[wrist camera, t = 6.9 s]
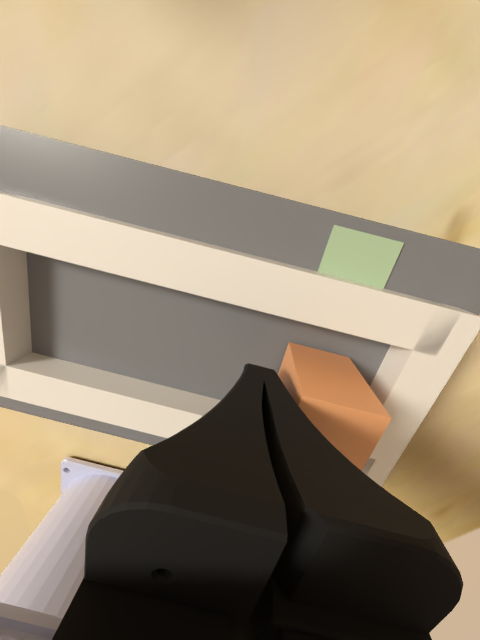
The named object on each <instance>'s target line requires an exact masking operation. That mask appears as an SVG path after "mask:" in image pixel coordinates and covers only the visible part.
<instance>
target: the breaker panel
mask: <svg viewBox="0 0 480 640" xmlns="http://www.w3.org/2000/svg"><path fill="white" fill-rule="evenodd" d="M479 314H480V249H479V248H475V247H471V246H467V245H463V244H459V243H456V242H452V241H448V240H444V239H440V238H436V237H432V236H428V235H425V234H421V233H417V232H413V231H409V230H405V229H401V228H397V227H393V226H390V225H386V224H382V223H378V222H374V221H370V220H366V219H362V218H359V217H355V216H351V215H347V214H343V213H339V212H335V211H331V210H328V209H324V208H320V207H316V206H312V205H308V204H304V203H300V202H297V201H293V200H289V199H285V198H281V197H277V196H273V195H269V194H265V193H262V192H258V191H254V190H250V189H246V188H242V187H238V186H234V185H231V184H227V183H223V182H219V181H215V180H211V179H207V178H203V177H200V176H196V175H192V174H188V173H184V172H180V171H176V170H172V169H168V168H165V167H161V166H157V165H153V164H149V163H145V162H141V161H137V160H134V159H130V158H126V157H122V156H118V155H114V154H110V153H106V152H103V151H99V150H95V149H91V148H87V147H83V146H79V145H75V144H72V143H68V142H64V141H60V140H56V139H52V138H48V137H44V136H40V135H37V134H33V133H29V132H25V131H21V130H17V129H13V128H9V127H6V126H2V125H0V407H3V408H7V409H11V410H15V411H19V412H23V413H27V414H31V415H35V416H39V417H43V418H47V419H51V420H54V421H58V422H62V423H66V424H70V425H74V426H78V427H82V428H86V429H90V430H94V431H98V432H102V433H106V434H110V435H114V436H118V437H122V438H126V439H130V440H134V441H138V442H142V443H146V444H150V445H155V444H157V443H159V442H161V441H163V440H165V439H167V438H169V437H171V436H173V435H175V434H176V433H178V432H180V431H181V430H183V429H185V428H186V427H188V426H189V425H191V424H193V423H194V422H196V421H197V420H198V419H200V418H201V417H202V416H204V415H205V414H206V413H207V412H209V411H210V410H211V409H212V408H213V407H214V406H216V405H217V404H218V403H219V402H220V401H221V400H222V399H223V398H224V397H225V396H226V394H227V393H228V392H229V391H230V390H231V389H232V388H233V386H234V385H235V384H236V382H237V381H238V379H239V378H240V376H241V374H242V373H243V370H244V366H245V364H247V363H250V364H254V365H258V366H261V367H265V368H269V369H273V370H275V371H276V373H277V374H278V372H279V370H280V367H281V364H282V361H283V358H284V355H285V352H286V349H287V346H288V343H289V342H291V343H295V344H299V345H303V346H307V347H311V348H315V349H319V350H322V351H326V352H330V353H334V354H338V355H342V356H346V357H349V358H350V359H351V361H352V362H353V364H354V365H355V366H356V368H357V369H358V371H359V372H360V374H361V375H362V376H363V378H364V379H365V381H366V382H367V384H368V385H369V386H370V388H371V389H372V391H373V392H374V394H375V395H376V396H377V398H378V399H379V401H380V402H381V404H382V405H383V406H384V408H385V409H386V411H387V412H388V414H389V415H390V416H391V418H392V419H391V420H390V422H389V424H388V426H387V427H386V429H385V431H384V433H383V435H382V436H381V438H380V440H379V442H378V443H377V445H376V447H375V449H374V450H373V452H372V454H371V456H370V457H369V459H368V461H367V463H366V464H365V466H364V468H363V470H362V472H363V473H365V474H366V475H367V476H368V477H370V478H371V479H372V480H373V481H375V482H376V483H377V484H378V485H380V486H381V487H382V485H383V483H384V482H385V480H386V479H387V477H388V475H389V474H390V472H391V471H392V469H393V467H394V466H395V464H396V463H397V461H398V459H399V458H400V456H401V455H402V453H403V451H404V450H405V448H406V447H407V445H408V443H409V442H410V440H411V439H412V437H413V435H414V434H415V432H416V431H417V429H418V427H419V426H420V424H421V423H422V421H423V419H424V418H425V416H426V415H427V413H428V411H429V410H430V408H431V407H432V405H433V403H434V402H435V400H436V399H437V397H438V395H439V394H440V392H441V391H442V389H443V387H444V386H445V384H446V383H447V381H448V379H449V378H450V376H451V375H452V373H453V371H454V370H455V368H456V367H457V365H458V363H459V362H460V360H461V359H462V357H463V355H464V354H465V352H466V351H467V349H468V347H469V346H470V344H471V343H472V341H473V340H474V338H475V336H476V335H477V333H478V332H479V330H480V316H479Z"/></svg>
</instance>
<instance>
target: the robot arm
mask: <svg viewBox="0 0 480 640" xmlns="http://www.w3.org/2000/svg"><path fill="white" fill-rule="evenodd" d="M462 587H463V582H462V578H461V574H460V572H459V570H458V568H457V567H456V565H455V563H454V561H453V560H452V558H451V556H450V555H449V553H448V551H447V549H446V548H445V546H444V544H443V543H442V541H441V539H440V537H439V536H438V534H437V532H436V530H435V529H434V527H433V525H432V524H431V522H430V521H428V520H427V519H425V518H424V517H423V516H421V515H420V514H418V513H417V512H416V511H414V510H413V509H411V508H410V507H408V506H407V505H406V504H404V503H403V502H401V501H400V500H399V499H397V498H396V497H394V496H393V495H391V494H390V493H389V492H387V491H386V490H385V489H383V488H382V487H381V486H380V485H378V484H377V483H376V482H375V481H373V480H372V479H371V478H370V477H368V476H367V475H366V474H365V473H363V472H362V471H361V470H360V469H359V468H357V467H356V466H355V465H354V464H353V463H352V462H350V461H349V460H348V459H347V458H346V457H345V456H344V455H343V454H342V453H341V452H340V451H338V450H337V449H336V448H335V447H334V446H333V445H332V444H331V443H330V442H329V441H328V440H327V439H326V438H325V437H324V436H323V435H322V433H321V432H320V431H319V430H318V429H317V428H316V427H315V426H314V425H313V424H312V422H311V421H310V420H309V419H308V418H307V416H306V415H305V414H304V412H303V411H302V410H301V409H300V407H299V406H298V405H297V403H296V402H295V401H294V399H293V398H292V396H291V395H290V393H289V392H288V390H287V389H286V387H285V386H284V384H283V383H282V381H281V379H280V378H279V376H278V374H277V373H276V371H275V370H273V369H269V368H265V367H261V366H258V365H254V364H250V363H247V364H245V366H244V370H243V373H242V374H241V376H240V378H239V379H238V381H237V382H236V384H235V385H234V386H233V388H232V389H231V390H230V391H229V392H228V393H227V394H226V396H225V397H224V398H223V399H222V400H221V401H220V402H219V403H218V404H217V405H216V406H214V407H213V408H212V409H211V410H210V411H209V412H207V413H206V414H205V415H204V416H202V417H201V418H200V419H198V420H197V421H196V422H194V423H193V424H191V425H189V426H188V427H186V428H185V429H183V430H181V431H180V432H178V433H176V434H175V435H173V436H171V437H169V438H167V439H165V440H163V441H161V442H159V443H157V444H155V445H153V446H151V447H149V448H147V449H144V450H142V451H141V452H140V453H139V454H138V455H137V456H136V457H135V458H134V459H133V460H132V462H131V463H130V464H129V465H128V466H127V468H126V469H125V470H124V471H123V470H119V469H115V468H111V467H107V466H103V465H99V464H95V463H91V462H87V461H83V460H79V459H75V458H71V457H66V458H64V459H63V461H62V462H61V496H60V497H59V499H58V500H57V501H56V503H55V504H54V505H53V506H52V508H51V509H50V510H49V512H48V513H47V514H46V516H45V517H44V518H43V520H42V521H41V522H40V524H39V525H38V526H37V528H36V529H35V530H34V531H33V533H32V534H31V535H30V537H29V538H28V540H27V541H26V542H25V543H24V545H23V546H22V547H21V549H20V550H19V551H18V553H17V554H16V555H15V557H14V558H13V559H12V561H11V562H10V563H9V565H8V566H7V567H6V568H5V570H4V571H3V572H2V574H1V575H0V640H432V639H431V637H430V634H429V632H430V631H431V630H432V629H434V627H436V625H438V624H439V623H440V622H441V621H442V620H443V619H444V618H445V617H446V616H447V615H448V614H449V613H450V612H451V611H452V610H453V608H454V607H455V606H456V604H457V603H458V602H459V600H460V597H461V592H462Z"/></svg>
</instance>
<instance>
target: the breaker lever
mask: <svg viewBox="0 0 480 640" xmlns="http://www.w3.org/2000/svg"><path fill="white" fill-rule="evenodd" d="M278 376H279V378H280V379H281V381H282V383H283V384H284V386H285V387H286V389H287V390H288V392H289V393H290V395H291V396H292V398H293V399H294V401H295V402H296V403H297V405H298V406H299V407H300V409H301V410H302V411H303V412H304V414H305V415H306V416H307V418H308V419H309V420H310V421H311V422H312V424H313V425H314V426H315V427H316V428H317V429H318V430H319V431H320V432H321V433H322V435H323V436H324V437H325V438H326V439H327V440H328V441H329V442H330V443H331V444H332V445H333V446H334V447H335V448H336V449H337V450H338V451H340V452H341V453H342V454H343V455H344V456H345V457H346V458H347V459H348V460H349V461H350V462H352V463H353V464H354V465H355V466H356V467H357V468H359V469H360V470H361V471H362V470H363V468H364V466H365V464H366V463H367V461H368V459H369V457H370V456H371V454H372V452H373V450H374V449H375V447H376V445H377V443H378V442H379V440H380V438H381V436H382V435H383V433H384V431H385V429H386V427H387V426H388V424H389V422H390V420H391V419H392V418H391V416H390V415H389V414H388V412H387V411H386V409H385V408H384V406H383V405H382V404H381V402H380V401H379V399H378V398H377V396H376V395H375V394H374V392H373V391H372V389H371V388H370V386H369V385H368V384H367V382H366V381H365V379H364V378H363V376H362V375H361V374H360V372H359V371H358V369H357V368H356V366H355V365H354V364H353V362H352V361H351V359H350V358H349V357H346V356H342V355H338V354H334V353H330V352H326V351H322V350H319V349H315V348H311V347H307V346H303V345H299V344H295V343H291V342H289V343H288V346H287V349H286V352H285V355H284V358H283V361H282V364H281V367H280V370H279V372H278Z"/></svg>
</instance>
